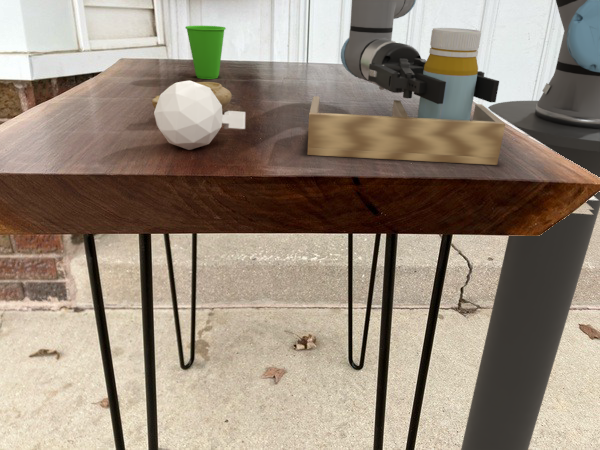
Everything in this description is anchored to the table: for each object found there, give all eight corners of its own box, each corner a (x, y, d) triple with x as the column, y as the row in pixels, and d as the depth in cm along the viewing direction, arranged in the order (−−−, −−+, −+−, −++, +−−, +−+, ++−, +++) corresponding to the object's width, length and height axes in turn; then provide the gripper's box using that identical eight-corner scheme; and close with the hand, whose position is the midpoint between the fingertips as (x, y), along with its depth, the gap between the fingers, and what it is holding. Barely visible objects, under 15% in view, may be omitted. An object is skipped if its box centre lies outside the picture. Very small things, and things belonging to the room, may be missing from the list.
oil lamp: (149, 125, 82) (146, 92, 79) (179, 106, 94) (177, 77, 92) (216, 129, 81) (215, 96, 78) (237, 109, 94) (236, 80, 91)
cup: (229, 80, 120) (228, 29, 116) (189, 80, 118) (186, 28, 114) (224, 74, 128) (223, 25, 124) (186, 74, 126) (183, 25, 121)
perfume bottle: (159, 147, 65) (252, 151, 70) (159, 71, 64) (253, 80, 69) (148, 149, 73) (233, 153, 77) (149, 81, 72) (234, 90, 77)
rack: (475, 140, 80) (482, 104, 78) (497, 165, 69) (505, 123, 67) (311, 132, 81) (313, 96, 79) (307, 155, 70) (309, 114, 68)
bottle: (465, 139, 77) (484, 29, 70) (464, 152, 71) (484, 33, 64) (417, 133, 78) (431, 26, 72) (411, 146, 72) (426, 30, 66)
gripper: (441, 88, 91) (528, 119, 71) (333, 90, 86) (393, 124, 66) (448, 42, 88) (541, 61, 68) (336, 41, 83) (400, 62, 63)
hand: (468, 92), depth 67 cm, fingers closed on bottle, 7 cm apart
